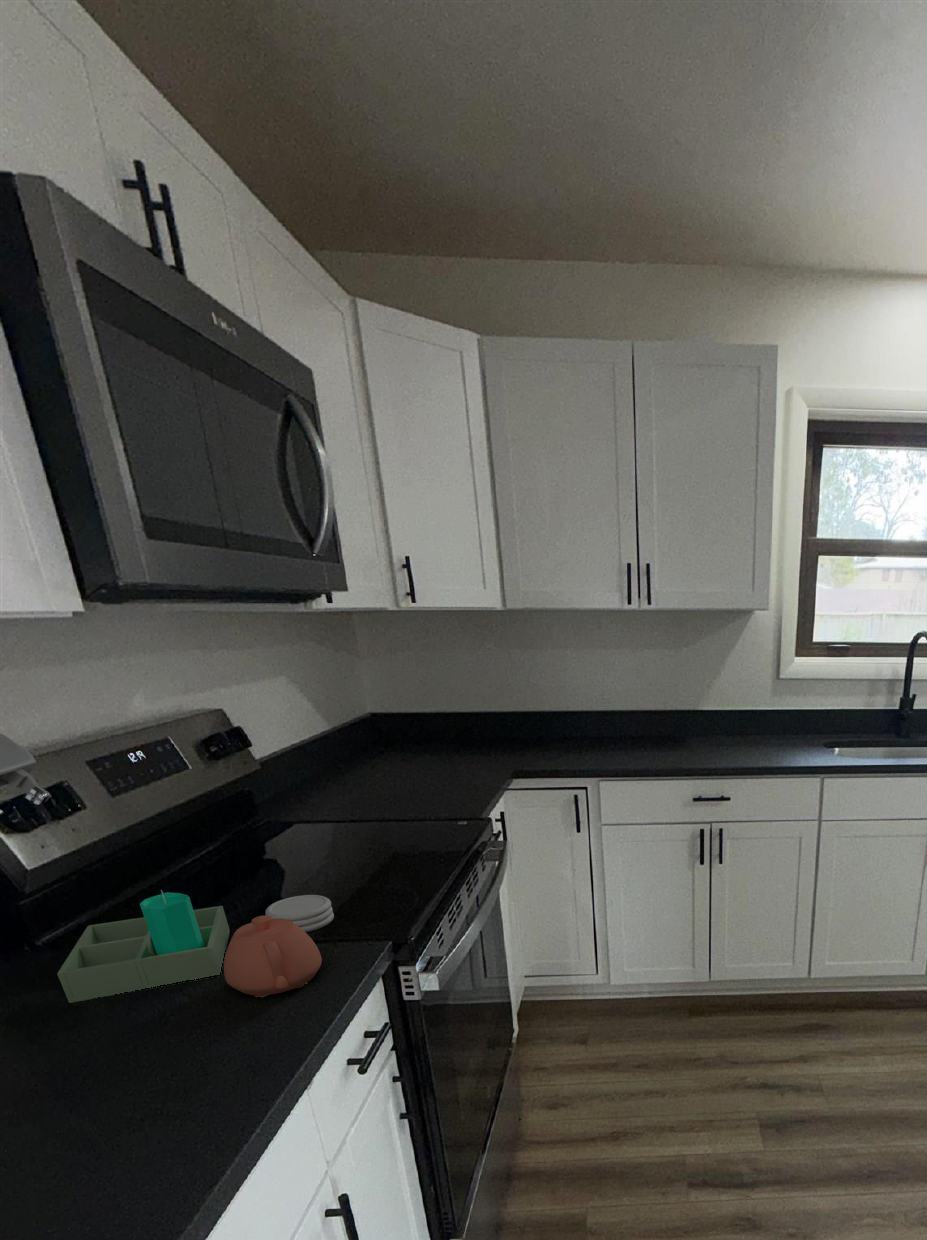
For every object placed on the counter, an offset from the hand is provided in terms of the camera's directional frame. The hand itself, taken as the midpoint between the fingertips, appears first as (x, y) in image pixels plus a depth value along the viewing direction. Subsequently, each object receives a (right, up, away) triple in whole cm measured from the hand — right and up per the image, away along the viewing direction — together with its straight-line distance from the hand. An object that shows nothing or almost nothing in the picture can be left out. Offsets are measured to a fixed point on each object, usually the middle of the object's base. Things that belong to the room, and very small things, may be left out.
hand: (22, 809), depth 99 cm
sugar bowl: (+29, -24, +8) cm, 39 cm away
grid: (+7, -21, +15) cm, 27 cm away
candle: (+13, -21, +13) cm, 28 cm away
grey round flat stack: (+22, -15, +29) cm, 39 cm away
